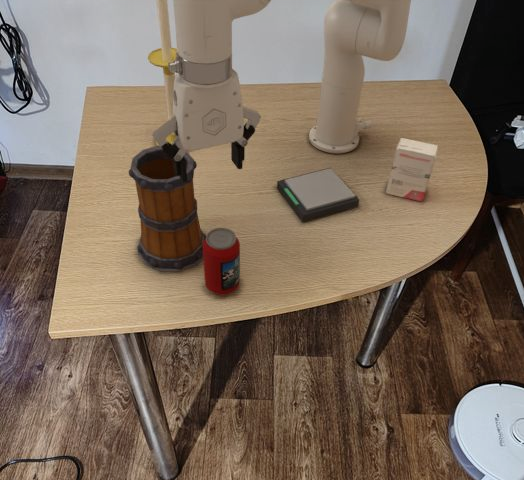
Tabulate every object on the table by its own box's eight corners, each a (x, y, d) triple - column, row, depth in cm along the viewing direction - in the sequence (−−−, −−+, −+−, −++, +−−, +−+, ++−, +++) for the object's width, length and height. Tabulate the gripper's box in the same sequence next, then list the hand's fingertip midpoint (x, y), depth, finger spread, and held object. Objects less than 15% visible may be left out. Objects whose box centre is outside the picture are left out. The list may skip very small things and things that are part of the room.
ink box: (425, 190, 128) (440, 144, 119) (422, 202, 125) (437, 156, 116) (388, 181, 129) (400, 135, 120) (384, 194, 127) (396, 147, 117)
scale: (329, 174, 130) (331, 165, 128) (358, 207, 123) (360, 197, 121) (276, 188, 126) (277, 178, 124) (302, 222, 119) (303, 213, 117)
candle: (162, 127, 140) (142, -46, 110) (200, 133, 139) (190, -41, 109) (150, 149, 134) (124, -28, 104) (189, 155, 133) (175, -22, 103)
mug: (129, 216, 119) (112, 130, 103) (195, 206, 122) (189, 121, 106) (143, 278, 108) (126, 193, 92) (215, 266, 110) (211, 181, 95)
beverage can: (235, 300, 105) (235, 253, 96) (201, 294, 106) (197, 247, 96) (243, 275, 109) (243, 228, 100) (210, 270, 110) (207, 222, 100)
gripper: (154, 88, 73) (166, 196, 86) (272, 67, 78) (267, 172, 91) (137, 63, 77) (152, 169, 91) (251, 44, 82) (248, 148, 95)
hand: (209, 171), depth 91 cm, fingers open, 9 cm apart
